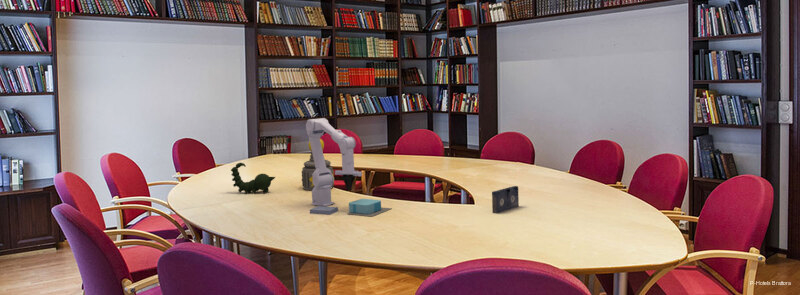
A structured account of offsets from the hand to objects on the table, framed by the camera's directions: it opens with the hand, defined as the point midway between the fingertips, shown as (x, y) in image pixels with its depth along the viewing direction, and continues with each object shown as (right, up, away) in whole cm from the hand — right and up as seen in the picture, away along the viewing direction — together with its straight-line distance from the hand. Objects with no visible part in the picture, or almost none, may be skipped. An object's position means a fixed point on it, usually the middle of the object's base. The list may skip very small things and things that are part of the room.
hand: (349, 190), depth 305 cm
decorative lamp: (-23, -3, +64) cm, 68 cm away
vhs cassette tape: (+74, -9, -11) cm, 76 cm away
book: (-12, -11, -2) cm, 16 cm away
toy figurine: (-59, -6, +56) cm, 82 cm away
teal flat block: (+3, -7, -1) cm, 8 cm away
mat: (+10, -10, -5) cm, 15 cm away
